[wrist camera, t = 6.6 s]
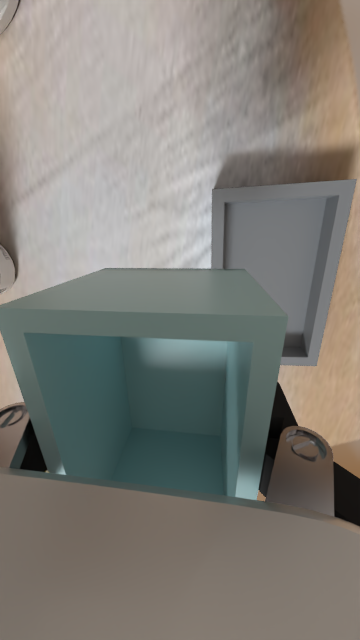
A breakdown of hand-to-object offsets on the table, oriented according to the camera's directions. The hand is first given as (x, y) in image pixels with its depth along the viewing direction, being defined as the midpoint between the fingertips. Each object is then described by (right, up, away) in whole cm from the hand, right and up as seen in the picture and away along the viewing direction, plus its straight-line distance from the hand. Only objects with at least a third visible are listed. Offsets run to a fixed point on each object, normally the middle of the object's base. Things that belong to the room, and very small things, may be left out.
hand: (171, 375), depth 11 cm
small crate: (0, 0, +1) cm, 1 cm away
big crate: (+11, +8, +17) cm, 22 cm away
